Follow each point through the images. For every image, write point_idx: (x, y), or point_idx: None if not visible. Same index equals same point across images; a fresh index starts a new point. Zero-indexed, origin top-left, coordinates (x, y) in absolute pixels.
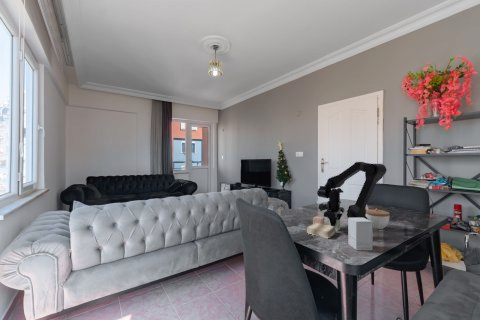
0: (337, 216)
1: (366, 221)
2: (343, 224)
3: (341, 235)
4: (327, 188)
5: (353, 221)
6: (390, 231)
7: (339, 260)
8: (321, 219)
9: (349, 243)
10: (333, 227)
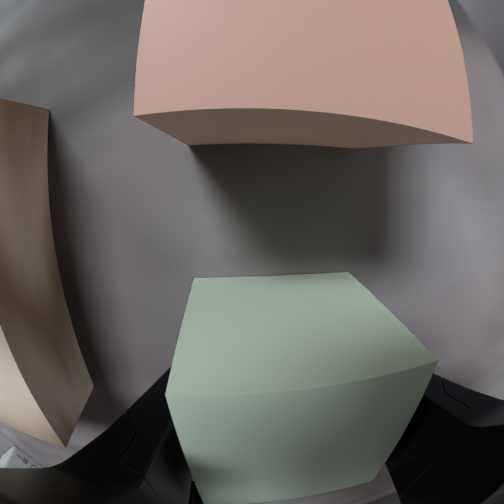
0: (429, 488)
1: None
2: (487, 329)
3: (93, 430)
4: None
5: None
6: (397, 498)
7: None
8: (141, 117)
9: (8, 452)
10: (21, 430)
